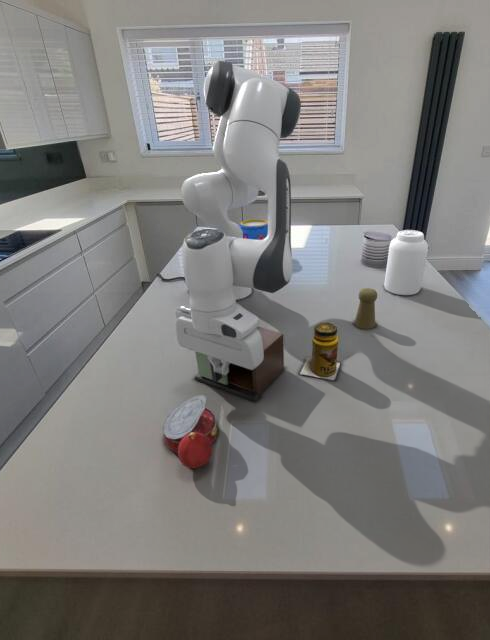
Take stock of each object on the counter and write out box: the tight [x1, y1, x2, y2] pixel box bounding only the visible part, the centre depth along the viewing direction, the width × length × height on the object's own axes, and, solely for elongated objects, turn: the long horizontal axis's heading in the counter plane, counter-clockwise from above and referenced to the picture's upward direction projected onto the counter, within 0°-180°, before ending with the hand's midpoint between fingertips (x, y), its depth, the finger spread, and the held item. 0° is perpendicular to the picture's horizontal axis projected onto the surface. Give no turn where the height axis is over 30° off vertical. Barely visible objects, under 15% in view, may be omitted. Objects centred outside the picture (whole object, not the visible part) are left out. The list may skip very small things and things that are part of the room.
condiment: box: [299, 322, 341, 381], centre depth 88 cm, size 7×8×12 cm
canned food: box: [162, 394, 218, 454], centre depth 71 cm, size 11×10×10 cm
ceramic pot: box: [237, 218, 268, 240], centre depth 159 cm, size 18×18×15 cm
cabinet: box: [194, 326, 285, 402], centre depth 87 cm, size 17×14×10 cm
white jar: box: [383, 229, 429, 296], centre depth 127 cm, size 12×12×20 cm
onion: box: [177, 432, 213, 469], centre depth 65 cm, size 6×6×8 cm
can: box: [361, 230, 394, 268], centre depth 153 cm, size 11×11×12 cm
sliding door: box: [194, 351, 228, 385], centre depth 83 cm, size 8×3×9 cm, turn 61°
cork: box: [354, 287, 378, 330], centre depth 108 cm, size 6×6×11 cm
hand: (221, 372), depth 80 cm, fingers closed
